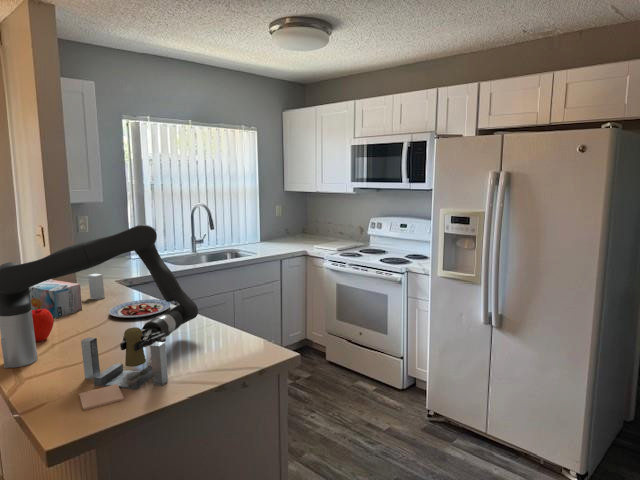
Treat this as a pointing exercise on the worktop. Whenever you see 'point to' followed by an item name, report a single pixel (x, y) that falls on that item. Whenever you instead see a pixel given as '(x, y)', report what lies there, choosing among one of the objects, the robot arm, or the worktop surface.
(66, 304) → the soda box
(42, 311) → the apple
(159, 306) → the ceramic plate
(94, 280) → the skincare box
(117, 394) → the tile
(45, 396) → the worktop surface
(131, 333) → the cork
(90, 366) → the grey u-shaped stand
